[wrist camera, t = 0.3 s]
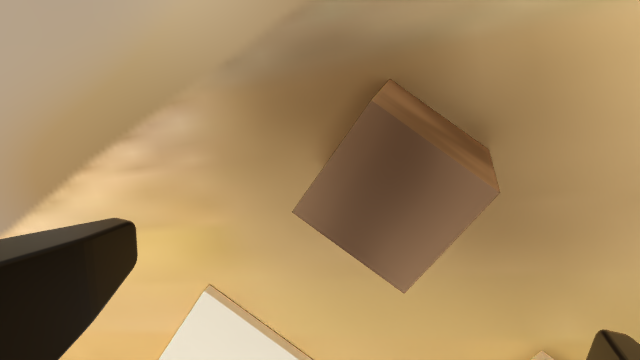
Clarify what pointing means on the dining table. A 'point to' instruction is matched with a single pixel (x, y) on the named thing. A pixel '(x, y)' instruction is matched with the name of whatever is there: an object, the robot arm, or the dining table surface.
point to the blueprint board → (226, 334)
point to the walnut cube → (400, 187)
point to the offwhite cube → (542, 356)
